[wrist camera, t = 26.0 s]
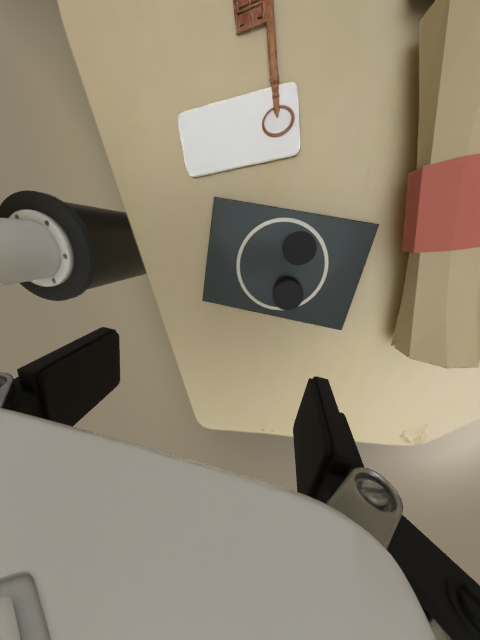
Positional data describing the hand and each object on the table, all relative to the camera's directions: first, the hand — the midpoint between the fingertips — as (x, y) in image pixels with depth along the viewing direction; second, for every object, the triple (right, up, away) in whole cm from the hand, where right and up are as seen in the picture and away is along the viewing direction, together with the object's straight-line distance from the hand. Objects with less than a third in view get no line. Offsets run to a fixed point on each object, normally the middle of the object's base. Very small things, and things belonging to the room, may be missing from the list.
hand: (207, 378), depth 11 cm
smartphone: (+1, +27, +19) cm, 33 cm away
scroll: (+26, +16, +18) cm, 35 cm away
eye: (+9, +13, +21) cm, 26 cm away
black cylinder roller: (+8, +7, +23) cm, 26 cm away
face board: (+8, +11, +23) cm, 27 cm away
